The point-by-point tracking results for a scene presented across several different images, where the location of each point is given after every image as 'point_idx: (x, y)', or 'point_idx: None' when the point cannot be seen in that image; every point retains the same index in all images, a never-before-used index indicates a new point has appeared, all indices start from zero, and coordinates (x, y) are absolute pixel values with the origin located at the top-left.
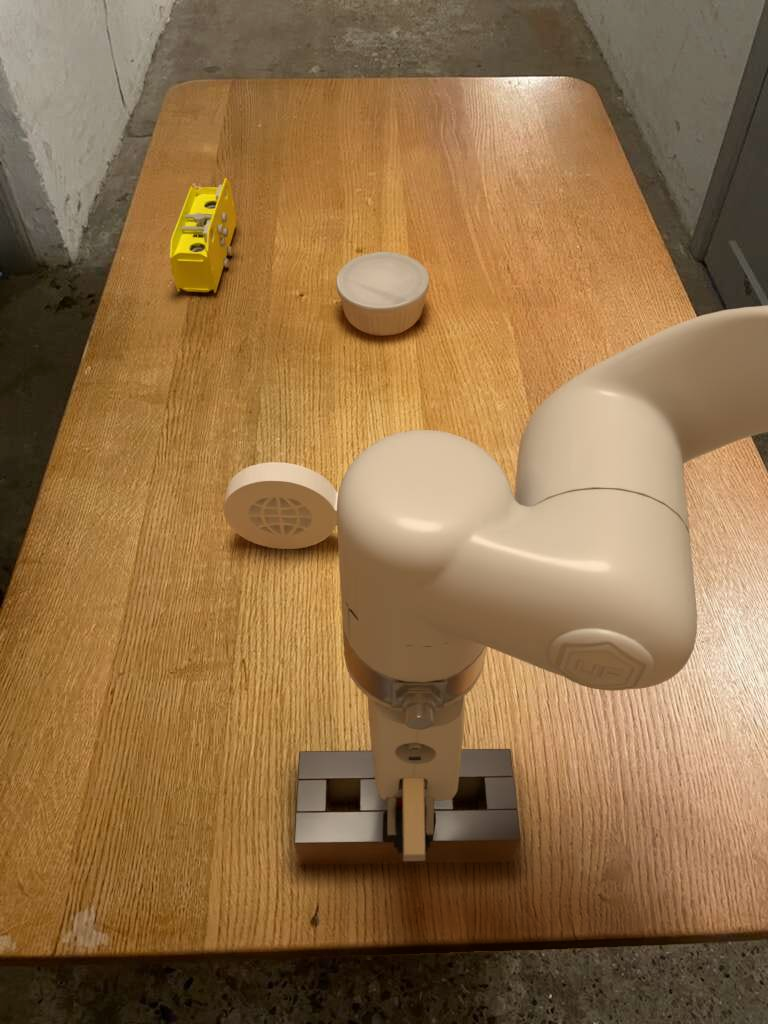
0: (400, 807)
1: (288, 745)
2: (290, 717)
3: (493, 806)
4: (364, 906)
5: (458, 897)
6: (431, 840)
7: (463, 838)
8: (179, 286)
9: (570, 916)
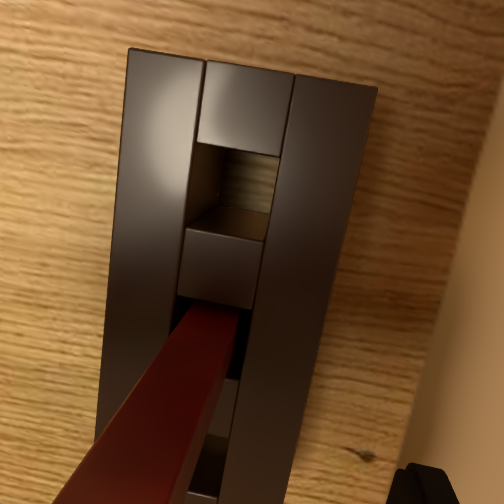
0: (233, 350)
1: (83, 441)
2: (36, 430)
3: (275, 138)
4: (365, 383)
5: (392, 227)
6: (443, 473)
7: (337, 236)
8: None
9: (491, 9)
